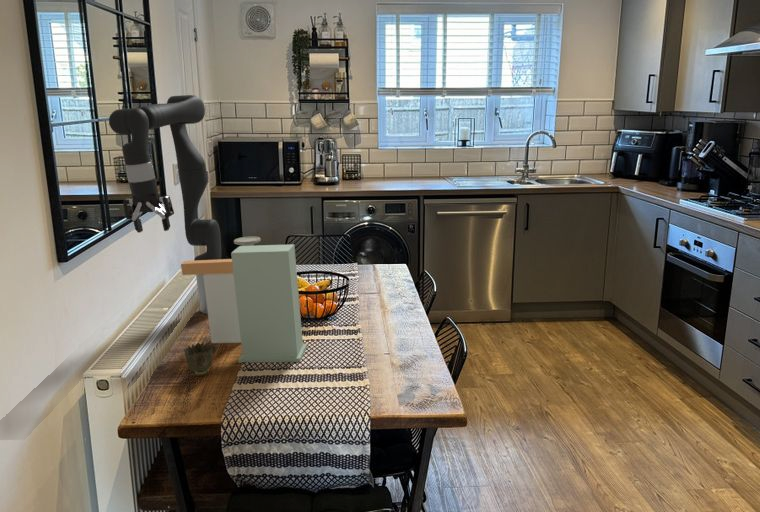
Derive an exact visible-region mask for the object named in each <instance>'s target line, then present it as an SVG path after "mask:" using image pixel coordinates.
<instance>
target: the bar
mask: <svg viewBox="0 0 760 512" xmlns="http://www.w3.org/2000/svg"><path fill="white" fill-rule="evenodd" d="M180 267H181V275H182V276H188V275H189V276H192V275H193V276H194V275H196V274H217V273H233V265H232V258H223V259H222V258H221V259H218V260H196V261H194V260H184V261H183V262H181V263H180Z"/></svg>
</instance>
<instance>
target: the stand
mask: <svg viewBox="0 0 760 512" xmlns="http://www.w3.org/2000/svg"><path fill="white" fill-rule="evenodd" d="M295 247H296V246H295V244H294V243H293V244H292V243H291V244H290V243H289V244H265V245H263V244H262V245H261V244H260V245H259V244H258V245H254V246H241V245H239V246H237V247H236V248H235V249H234V250H233V251H232V252H231V253H230V256H231V259H232V265H233V274H234V283H235V292H236V301H237V310H238V319H239V328H240V337H241V343H240V344H241V352H242V353H241V355H240V356H239V357H238V358H237V363H238V364H239V363H242V362H250V363H288V362H289V363H298V362H301V361H302V359H303V357H304V354H305V352H306V350H307V348H308V343H303V341H304V339H303V331H302V330H303V329H302V319H301V308H300V294H299V284H298V283H299V282H298V274H297V273H298V272H297V259H296V250H295V249H296V248H295ZM242 364H243V363H242Z"/></svg>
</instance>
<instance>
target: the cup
mask: <svg viewBox="0 0 760 512" xmlns="http://www.w3.org/2000/svg"><path fill="white" fill-rule="evenodd" d="M183 351H184V355H185V359H186V362H187V366H188V367H189V369H190V370H191V371H193V372H194V375H195V376H196V377H204V376H206V375H208V374H209V369H210V368H211V366H212V364H213V343H207V344H206V345H205V344H204V343H203V342H201V343H200V342H197V343H196V344H193V343H192V345H191V346H190V345H187V347H185V348H184V350H183Z"/></svg>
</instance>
